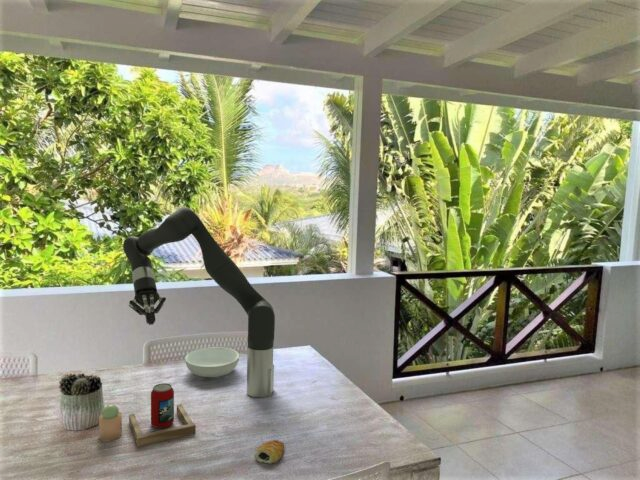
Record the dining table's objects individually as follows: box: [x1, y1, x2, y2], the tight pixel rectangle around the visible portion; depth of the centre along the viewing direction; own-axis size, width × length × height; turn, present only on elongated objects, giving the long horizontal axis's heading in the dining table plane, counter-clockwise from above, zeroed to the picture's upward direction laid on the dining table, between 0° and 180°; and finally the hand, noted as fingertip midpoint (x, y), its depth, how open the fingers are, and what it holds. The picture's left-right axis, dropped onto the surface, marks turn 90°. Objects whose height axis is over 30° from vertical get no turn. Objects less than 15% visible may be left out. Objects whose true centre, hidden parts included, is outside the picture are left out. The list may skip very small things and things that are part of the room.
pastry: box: [254, 439, 285, 465], centre depth 130 cm, size 9×7×4 cm
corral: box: [128, 403, 196, 448], centre depth 142 cm, size 16×16×2 cm
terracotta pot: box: [98, 404, 123, 442], centre depth 136 cm, size 6×6×9 cm
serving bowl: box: [184, 346, 240, 378], centre depth 185 cm, size 21×21×7 cm
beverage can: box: [150, 382, 175, 429], centre depth 144 cm, size 7×7×12 cm
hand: (151, 323), depth 161 cm, fingers closed
